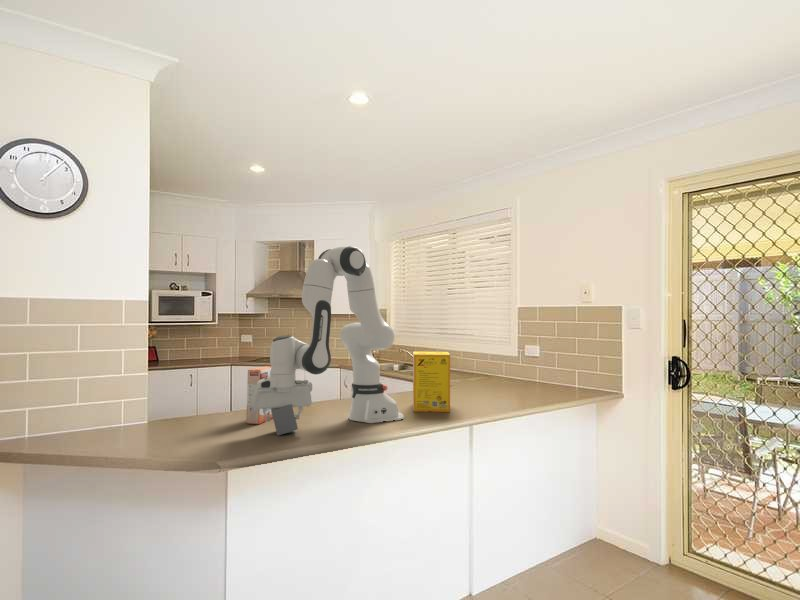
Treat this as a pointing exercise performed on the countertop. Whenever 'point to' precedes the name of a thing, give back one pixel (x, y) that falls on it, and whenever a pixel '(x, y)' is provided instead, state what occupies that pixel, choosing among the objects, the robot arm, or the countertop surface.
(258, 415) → the cracker box
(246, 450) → the countertop surface
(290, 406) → the gray faceted wedge
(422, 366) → the packaging box
